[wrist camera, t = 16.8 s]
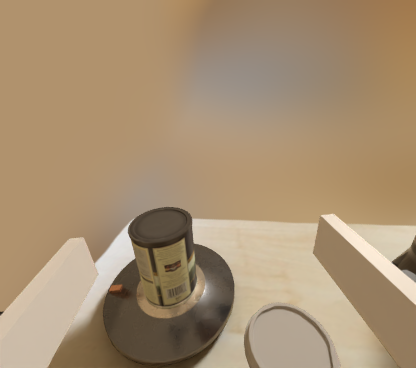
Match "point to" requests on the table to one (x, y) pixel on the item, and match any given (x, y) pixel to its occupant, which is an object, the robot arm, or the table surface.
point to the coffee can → (165, 256)
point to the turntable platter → (169, 314)
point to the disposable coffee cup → (287, 339)
